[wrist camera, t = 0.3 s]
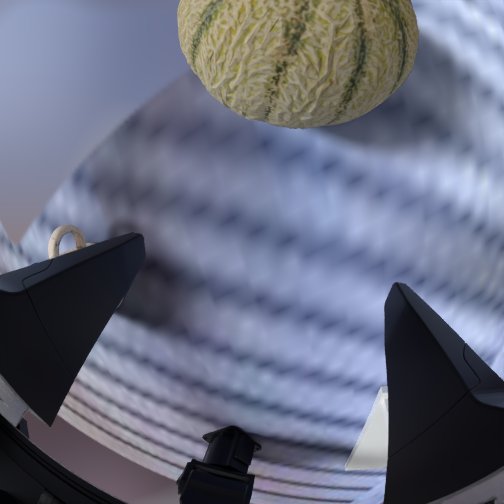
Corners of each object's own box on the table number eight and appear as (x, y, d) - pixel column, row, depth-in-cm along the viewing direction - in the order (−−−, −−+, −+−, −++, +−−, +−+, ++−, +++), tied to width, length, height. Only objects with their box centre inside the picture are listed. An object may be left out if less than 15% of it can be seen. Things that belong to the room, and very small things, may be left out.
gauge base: (344, 464, 33) (343, 554, 17) (381, 386, 27) (405, 515, 11) (439, 453, 30) (456, 528, 14) (491, 373, 24) (539, 461, 8)
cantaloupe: (195, 112, 23) (77, 68, 8) (249, -11, 18) (201, -112, 4) (356, 167, 22) (434, 169, 8) (398, 33, 17) (463, -56, 3)
